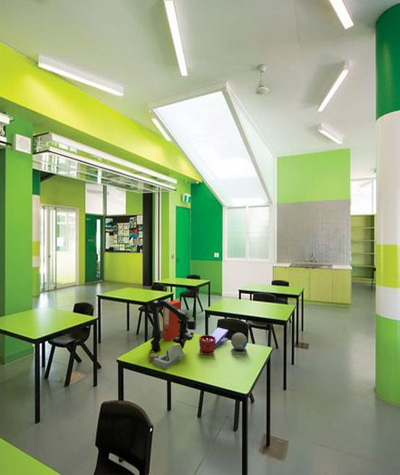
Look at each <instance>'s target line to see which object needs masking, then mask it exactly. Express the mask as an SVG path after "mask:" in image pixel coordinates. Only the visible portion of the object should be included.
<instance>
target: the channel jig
mask: <svg viewBox="0 0 400 475" xmlns="http://www.w3.org/2000/svg"><path fill="white" fill-rule="evenodd" d="M180 361H181V358H180V356H177V357H175V358H173V359H171V360H170V361H167V359H166V353H165V354H163V355H161V356H159V358H155V359H154V362H153V365H154V366H156V367H160V368H163V369H165V370H166V369H169V368H170V367H172V366H173V365H175V364H176V363H178V362H180Z"/></svg>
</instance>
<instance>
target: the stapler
mask: <svg viewBox="0 0 400 475" xmlns="http://www.w3.org/2000/svg"><path fill="white" fill-rule="evenodd" d="M228 332H229V329H225V328H221V327H217V328H216V329H214V331H213V332H212V333H210V334H209V335H210V336H213V337H215V338H216V343H215V347H214V350H215V349H217V348H219V347H220V346H222V345H223V344H224V343H225V342H227V341H228V340H229V338H227V337H226V335H227V334H228ZM207 340H208V338H207ZM209 340H210V339H209ZM211 341H213V340H212V339H211Z"/></svg>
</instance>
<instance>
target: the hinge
mask: <svg viewBox="0 0 400 475" xmlns="http://www.w3.org/2000/svg"><path fill="white" fill-rule="evenodd" d="M165 354H166V362H168V361H170V360H171V359H173V358H175V357H177V356H180V359H182V358H183V357H185V356H186V353H185V352H184V350H183V349H182V347H181V345H180V344H173V345H171V346H170V347H168V348H167V349H166V351H165Z"/></svg>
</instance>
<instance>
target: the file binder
mask: <svg viewBox="0 0 400 475" xmlns="http://www.w3.org/2000/svg"><path fill="white" fill-rule="evenodd" d="M168 302H169V303H170V304H172V305H173V306H174V307H176V308H177V309H179V310H182V301H180V300H176V299H175V300H171V301H168ZM162 307H163V308H162V328H161V331H163V335H164V336H163V338H162V339H161V340H163V341H168V342H171V341H173V339H174V338H176V337H178V335H179V331H178V330H179V327H180V323H177V322H178V321H179V319H178V317H177V316H176V315H175V314H174V313H173V312H171V311H170V310H169V309H167V308H166V307H164V306H162ZM178 338H179V337H178Z"/></svg>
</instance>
